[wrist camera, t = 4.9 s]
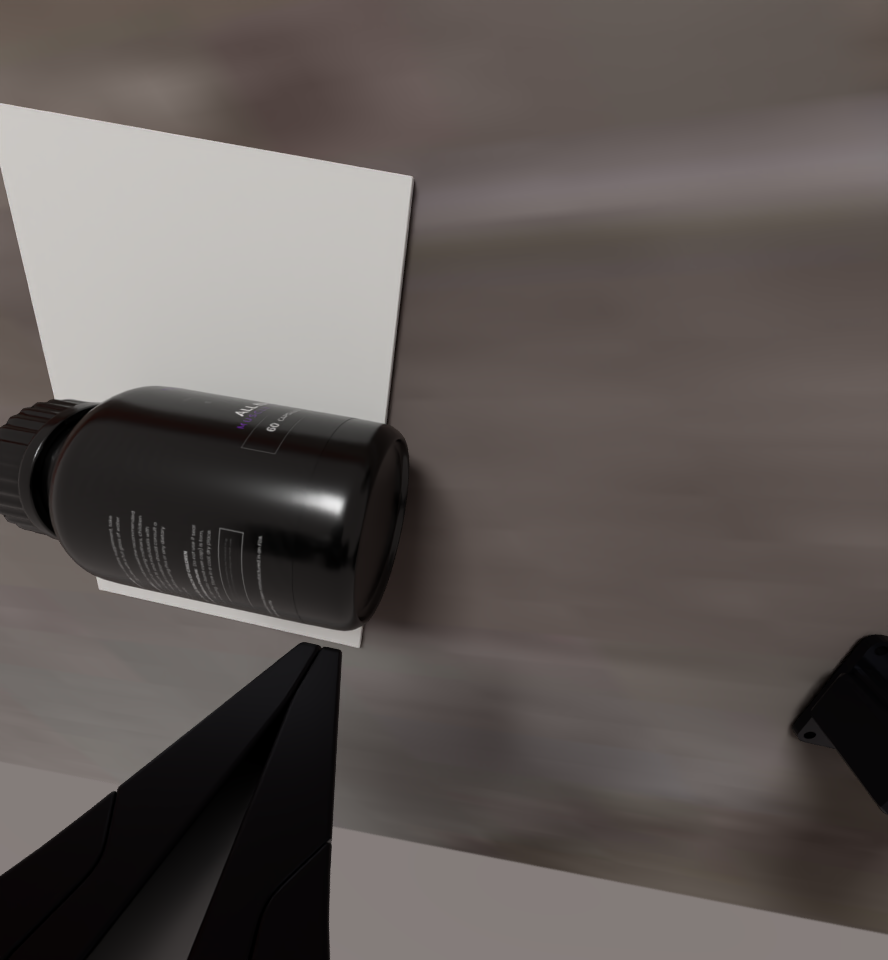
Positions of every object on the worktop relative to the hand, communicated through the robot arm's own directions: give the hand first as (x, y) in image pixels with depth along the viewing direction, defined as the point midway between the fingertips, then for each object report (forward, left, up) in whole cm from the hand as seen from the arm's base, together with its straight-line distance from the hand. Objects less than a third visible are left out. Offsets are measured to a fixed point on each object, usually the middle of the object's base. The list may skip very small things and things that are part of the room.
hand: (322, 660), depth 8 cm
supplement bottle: (0, 0, -6) cm, 6 cm away
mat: (+8, 0, -10) cm, 13 cm away
